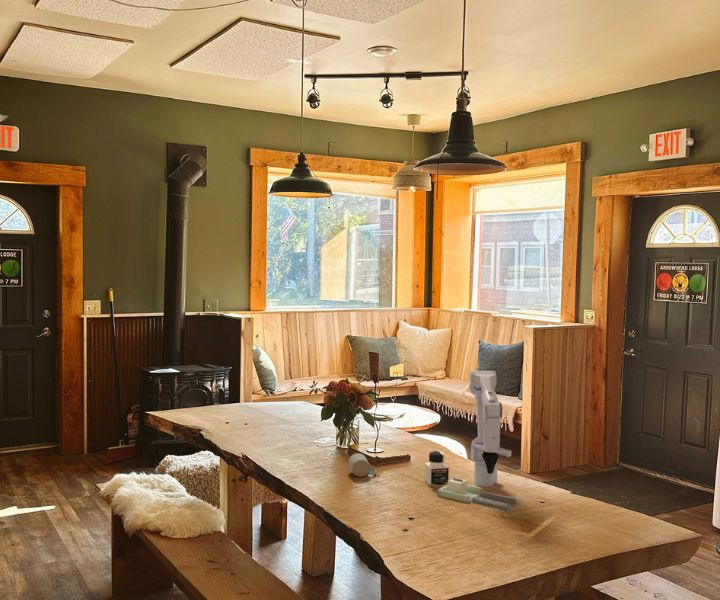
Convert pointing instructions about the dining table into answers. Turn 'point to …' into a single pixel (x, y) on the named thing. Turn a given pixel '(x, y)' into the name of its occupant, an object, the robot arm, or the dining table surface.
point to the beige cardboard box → (457, 486)
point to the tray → (471, 492)
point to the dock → (494, 501)
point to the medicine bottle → (436, 469)
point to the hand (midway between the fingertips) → (490, 473)
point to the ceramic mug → (360, 465)
